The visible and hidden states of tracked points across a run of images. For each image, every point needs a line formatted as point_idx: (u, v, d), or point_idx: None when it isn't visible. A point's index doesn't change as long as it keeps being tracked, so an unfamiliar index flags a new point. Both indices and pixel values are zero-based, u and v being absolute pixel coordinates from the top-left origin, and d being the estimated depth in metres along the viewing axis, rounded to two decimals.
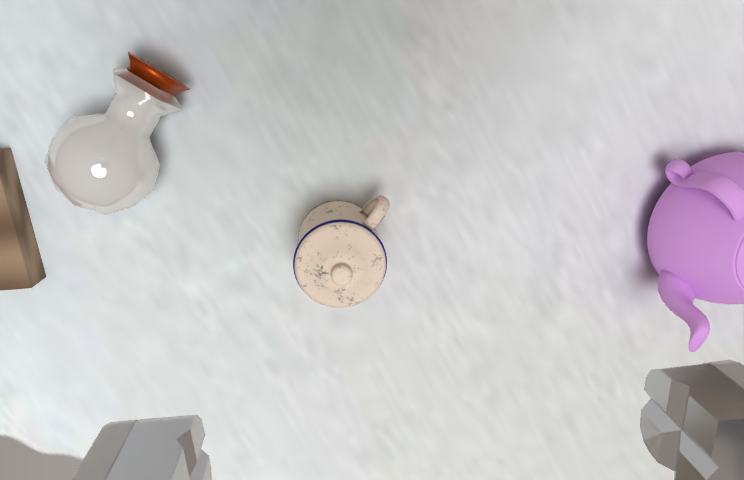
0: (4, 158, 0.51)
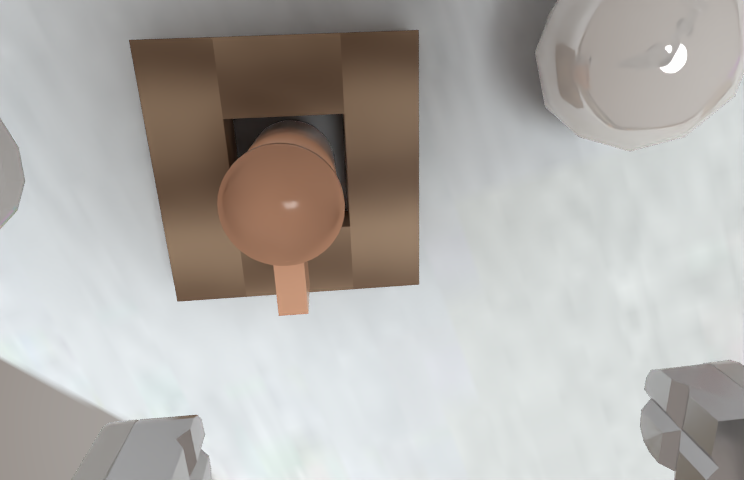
0: None
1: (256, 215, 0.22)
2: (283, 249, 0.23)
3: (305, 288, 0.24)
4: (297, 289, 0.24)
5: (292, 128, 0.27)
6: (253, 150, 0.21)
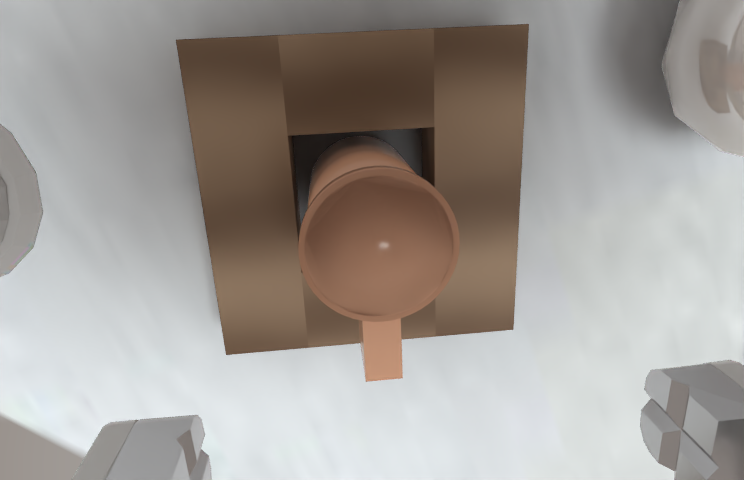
0: None
1: (347, 259, 0.17)
2: (379, 301, 0.18)
3: (400, 347, 0.19)
4: (390, 349, 0.19)
5: (371, 145, 0.22)
6: (347, 176, 0.17)
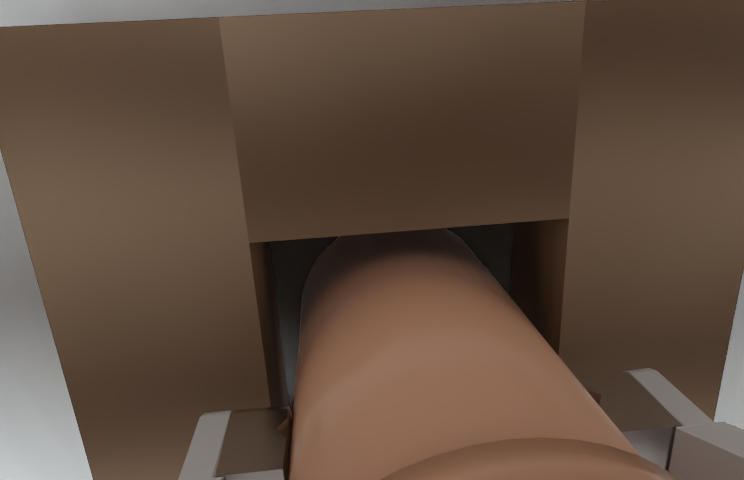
0: None
1: None
2: None
3: None
4: None
5: (432, 261, 0.10)
6: None
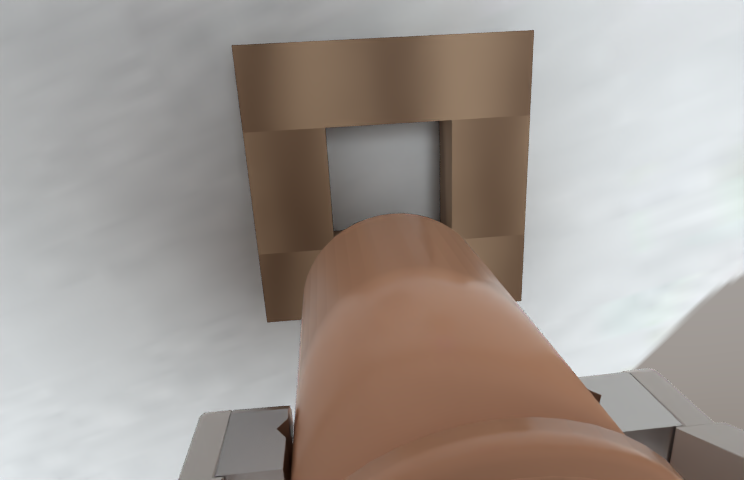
0: None
1: None
2: None
3: None
4: None
5: (430, 255, 0.10)
6: None
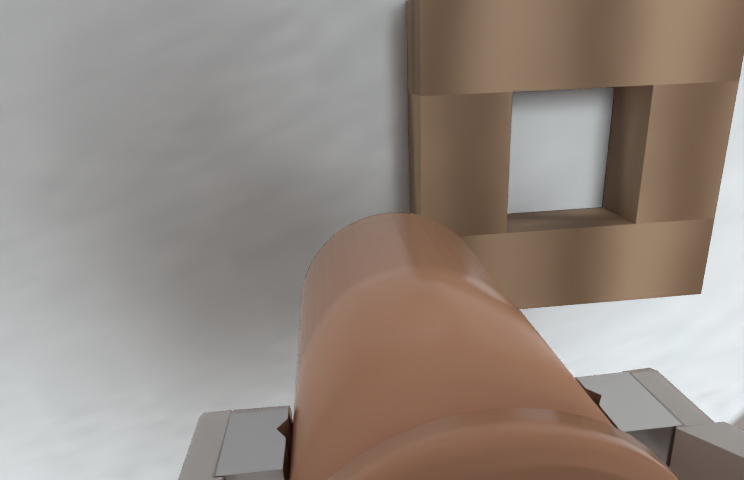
0: None
1: None
2: None
3: None
4: None
5: (426, 253, 0.11)
6: (410, 469, 0.05)
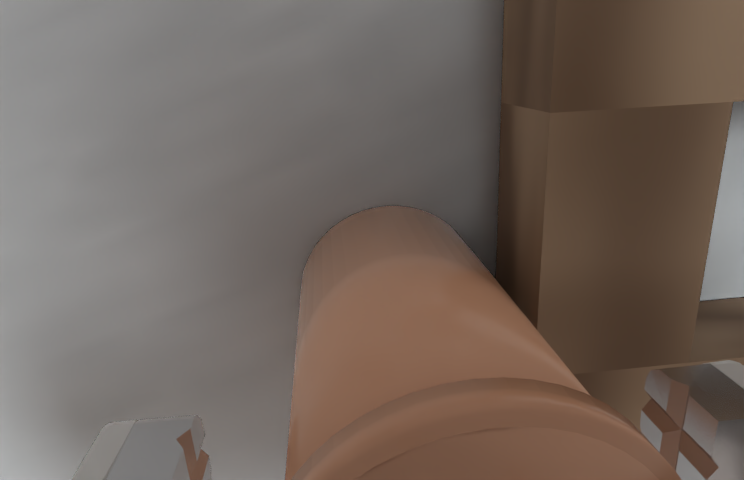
0: None
1: None
2: None
3: None
4: None
5: (420, 243, 0.11)
6: (399, 431, 0.05)
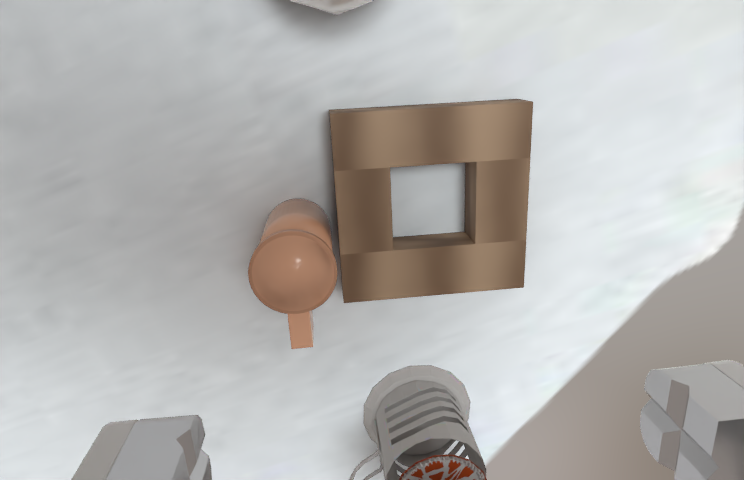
0: (340, 111, 0.36)
1: (275, 279, 0.32)
2: (294, 302, 0.33)
3: (310, 328, 0.34)
4: (304, 329, 0.34)
5: (298, 209, 0.37)
6: (273, 236, 0.31)
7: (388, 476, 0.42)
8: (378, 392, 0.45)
